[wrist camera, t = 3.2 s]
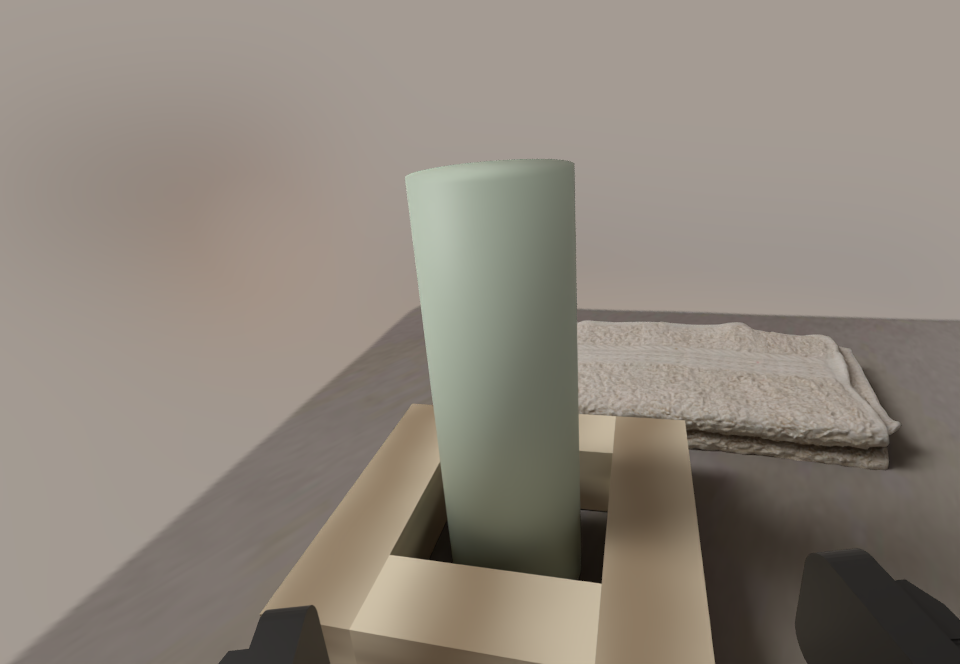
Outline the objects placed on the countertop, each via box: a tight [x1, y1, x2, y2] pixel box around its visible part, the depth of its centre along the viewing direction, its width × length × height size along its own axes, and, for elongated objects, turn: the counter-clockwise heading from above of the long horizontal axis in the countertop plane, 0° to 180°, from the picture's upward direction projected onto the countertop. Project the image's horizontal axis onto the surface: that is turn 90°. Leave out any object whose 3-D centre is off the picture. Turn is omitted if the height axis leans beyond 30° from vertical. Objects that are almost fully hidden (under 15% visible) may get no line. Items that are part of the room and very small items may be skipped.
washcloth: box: [577, 321, 902, 470], centre depth 33 cm, size 12×18×3 cm, turn 73°
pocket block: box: [260, 404, 715, 664], centre depth 22 cm, size 13×13×3 cm
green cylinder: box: [405, 159, 581, 580], centre depth 20 cm, size 5×5×15 cm
